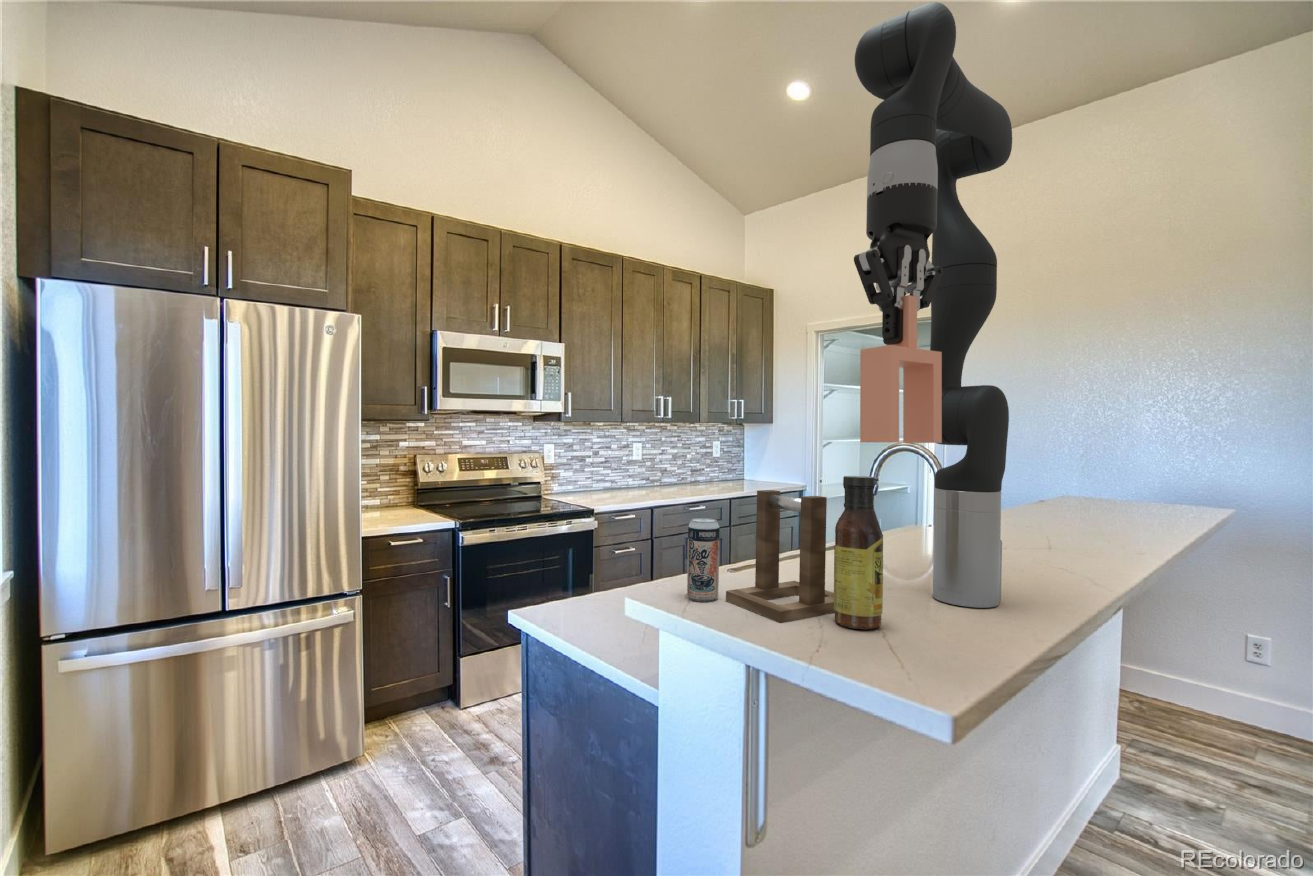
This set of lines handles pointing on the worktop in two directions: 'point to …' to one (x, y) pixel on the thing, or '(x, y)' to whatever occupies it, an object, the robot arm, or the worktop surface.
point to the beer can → (703, 559)
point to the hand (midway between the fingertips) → (898, 344)
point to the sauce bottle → (858, 558)
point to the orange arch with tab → (917, 388)
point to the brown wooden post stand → (767, 561)
